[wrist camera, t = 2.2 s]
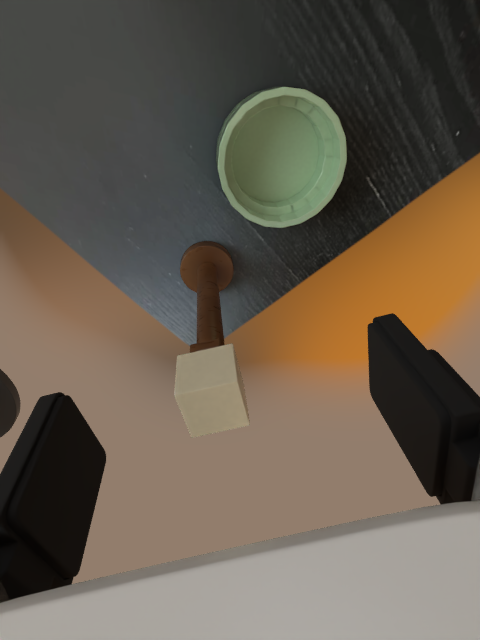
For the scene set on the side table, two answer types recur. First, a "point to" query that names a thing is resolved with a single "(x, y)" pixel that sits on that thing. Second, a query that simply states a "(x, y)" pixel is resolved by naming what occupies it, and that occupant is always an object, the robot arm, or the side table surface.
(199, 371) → the block
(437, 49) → the side table surface
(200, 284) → the stand
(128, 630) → the robot arm
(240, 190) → the green round bowl
